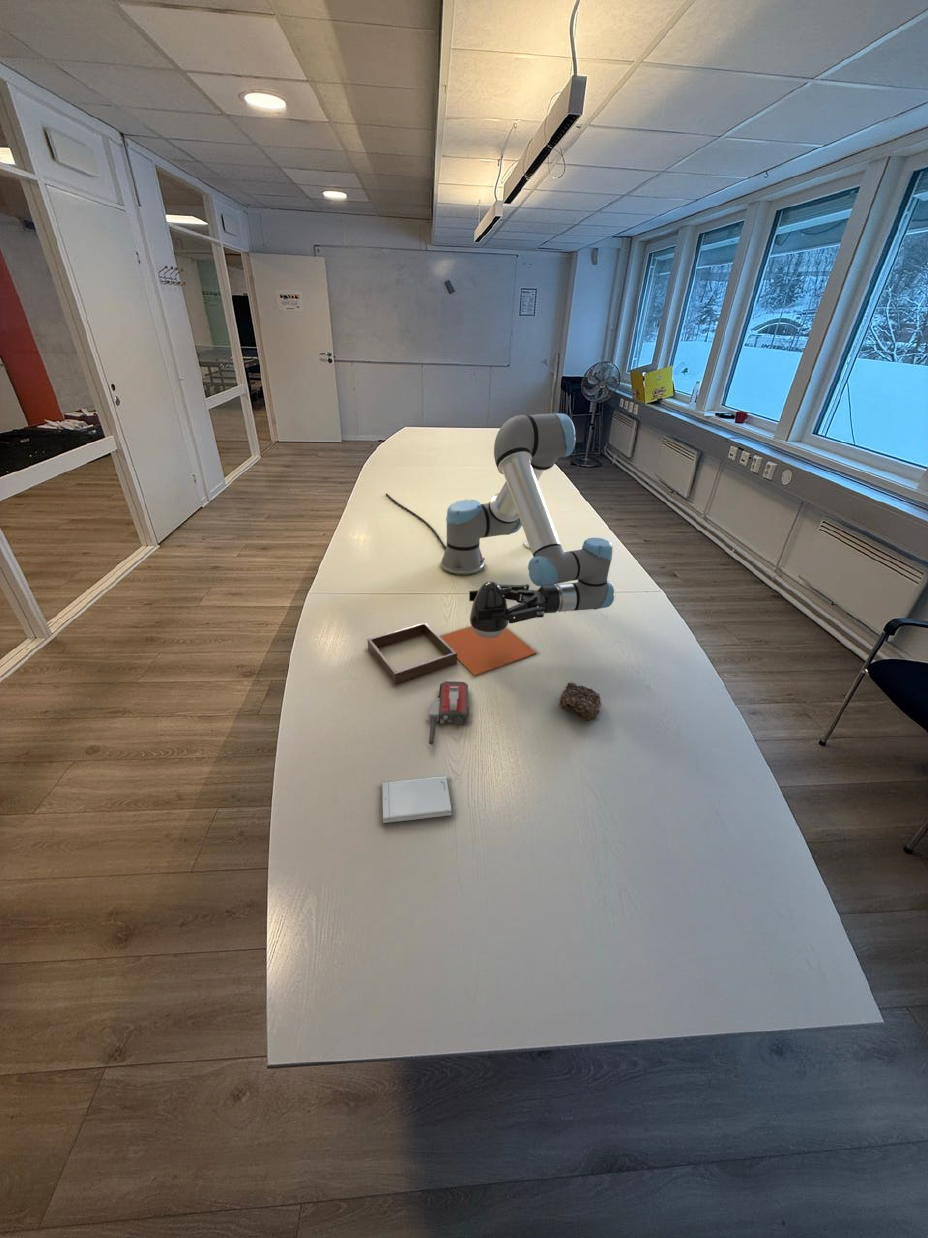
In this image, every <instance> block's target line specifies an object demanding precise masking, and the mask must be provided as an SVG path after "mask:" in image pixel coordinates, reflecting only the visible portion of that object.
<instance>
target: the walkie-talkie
mask: <svg viewBox="0 0 928 1238" xmlns="http://www.w3.org/2000/svg"><path fill="white" fill-rule="evenodd" d="M468 698H469V684H467V682H465V681H453V680H452V681H451V680H450V681H448V680H445V681H443V682H441V683H440V684H439V691H438V696H437V697H436V698H435V699H434V700H433V701H431V702H430V708H429V712H428V721H430V727H429V737H428V744H429V745H431V746H432V745H434V742H435V733H436V723H437V722H438V723H440V724H442V725H443V724H455V725H462V724H467V723H468V719H469V705H468V703H469V699H468Z"/></svg>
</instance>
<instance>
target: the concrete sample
mask: <svg viewBox="0 0 928 1238" xmlns="http://www.w3.org/2000/svg"><path fill="white" fill-rule="evenodd" d="M600 695H601V694H600V693H598V692H596V691H595V690H594V689H593V688H589V687H586V686H584V685H577V684H576V683H574V682H568V683H567V685H566V687H565V688H564V690H563V691H562V694H561V696H560V701H559V702H560V703H559V708H560V709H561V710H565V711H566V712H569V713H570V714H572V715H576V716H577V717H579V718H581V719H583V720H584V721H587V722H588V721H594V720H595V719H596V718H597V716H599V713H600V711H601V707H602V702H601V700H602V699H601V696H600Z"/></svg>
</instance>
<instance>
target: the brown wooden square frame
mask: <svg viewBox="0 0 928 1238" xmlns="http://www.w3.org/2000/svg"><path fill="white" fill-rule="evenodd" d="M423 635H424V636H425V637H426V638H427V639H428V640H429V641H430V642H431V643H432V644H433V645H434V646H435V647H436V648H437V650H439V651H440V652H441V653H442V654H443V655H442V656H438V657H435V658H433V659H430V660H427V661H424V662H421V663H418V664H415V665H412V666H409V667H406V668H402V669H400V670H396V669H395V667H394V666H393V665H392V664H391V663H390V662H389V660H388V659H387V657H385V655H384V654H383V653H382V652H381V650H380V649H381V648H384V647H388V646H391V645H394V644H397V643H401V642H404V641H407V640H410V639H414V638H417V637H420V636H423ZM440 636H441V635H439V634H438V633H437V632H436V631H435V630H434V629H433V628H432V627H431V626H430V625H429V624H428V623H427V622H425V621H424V622H421V623H418V624H414V625H411V626H408V627H404V628H401V629H397V630H394V631H391V632H387V633H384V634H380V635H377V636H375V637H374V636H373V637H371V638H367V641H366V642H367V650H368V652H369V653H370V655H372V657H373V658H374V659H375V660H376V662H377V663H378V665H379V666H380V667H381V668H382V670H383V671H384V672H385V674H386V675H387V676H388V677H389V679H390V680H391V681H392V683H393V684H394V685H395V686H398V685H402V684H405V683H406V682H410V681H412V680H415V679H419V678H421V677H424V676H427V675H429V674H433V673H435V672H438V671H441V670H445V669H448V668H450V667H452V666H456V665H458V659H457V653H456V652H455V651H454V650H453V649H452V648H451V647H450V646H449V645H448V644H447V643H446V642H445V641H444V640H443V639H442V638H441V637H440Z"/></svg>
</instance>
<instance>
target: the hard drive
mask: <svg viewBox="0 0 928 1238" xmlns="http://www.w3.org/2000/svg"><path fill="white" fill-rule="evenodd" d="M381 787H382V791H381V792H382V823H383V824H387V823H388V824H389V823H395V822H405V821H413V820H423V819H430V818H441V817H447V816H452V812H453V811H452V804H451V797H450V791H449V785H448V779H447V776H446V775H445V776H437V777H427V778H417V779H406V780H398V781H397V780H396V781H389V782H382V785H381Z"/></svg>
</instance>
